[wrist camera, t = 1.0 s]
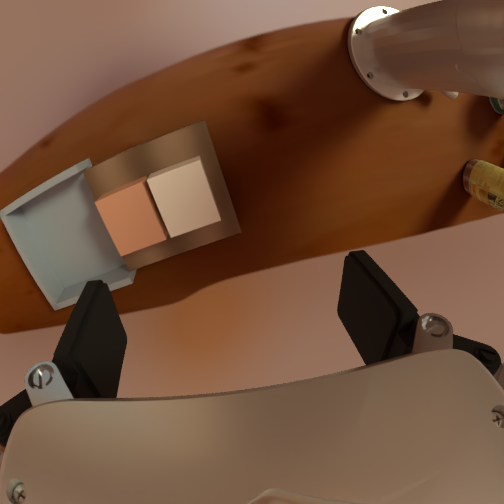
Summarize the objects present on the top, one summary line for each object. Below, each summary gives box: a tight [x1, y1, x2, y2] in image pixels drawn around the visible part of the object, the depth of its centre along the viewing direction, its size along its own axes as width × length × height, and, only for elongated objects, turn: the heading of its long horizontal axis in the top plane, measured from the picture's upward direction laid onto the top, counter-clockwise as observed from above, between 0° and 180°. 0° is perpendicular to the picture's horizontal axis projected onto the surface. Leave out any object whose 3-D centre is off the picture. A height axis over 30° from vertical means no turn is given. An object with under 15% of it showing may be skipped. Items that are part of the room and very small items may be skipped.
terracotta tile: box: [95, 176, 168, 256], centre depth 27 cm, size 5×6×2 cm
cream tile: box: [147, 156, 221, 238], centre depth 27 cm, size 5×6×2 cm
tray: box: [0, 158, 137, 310], centre depth 29 cm, size 12×14×4 cm
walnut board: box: [83, 120, 242, 271], centre depth 29 cm, size 13×12×3 cm
